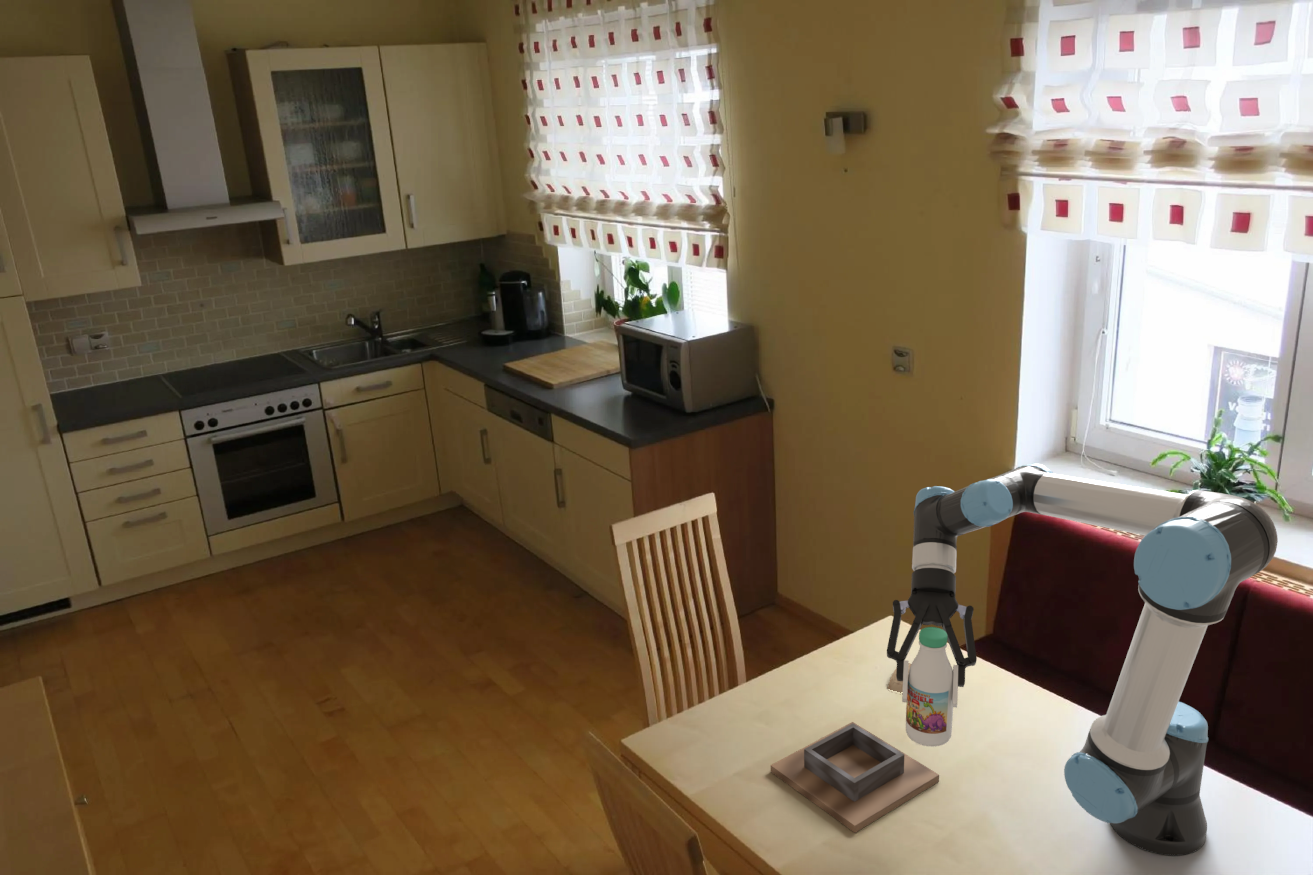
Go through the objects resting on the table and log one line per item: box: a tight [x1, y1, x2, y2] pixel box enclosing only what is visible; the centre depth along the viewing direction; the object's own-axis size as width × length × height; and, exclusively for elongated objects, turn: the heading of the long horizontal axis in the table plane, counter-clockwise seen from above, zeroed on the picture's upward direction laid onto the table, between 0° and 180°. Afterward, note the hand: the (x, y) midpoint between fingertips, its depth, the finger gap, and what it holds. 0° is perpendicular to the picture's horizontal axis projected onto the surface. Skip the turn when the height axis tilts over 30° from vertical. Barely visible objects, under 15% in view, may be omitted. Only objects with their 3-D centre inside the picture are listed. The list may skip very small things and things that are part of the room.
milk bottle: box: [905, 626, 954, 748], centre depth 173 cm, size 8×8×20 cm
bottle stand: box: [770, 721, 940, 833], centre depth 191 cm, size 22×22×6 cm
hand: (929, 702), depth 171 cm, fingers closed on milk bottle, 7 cm apart
